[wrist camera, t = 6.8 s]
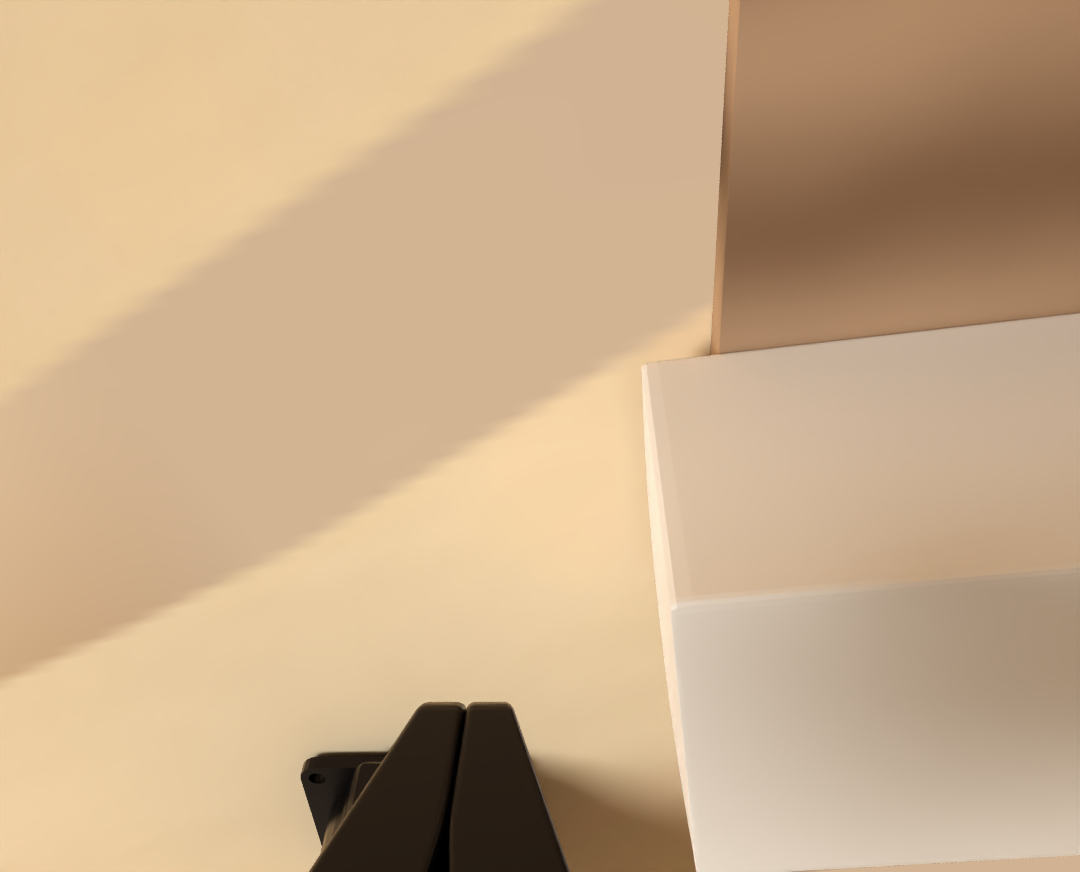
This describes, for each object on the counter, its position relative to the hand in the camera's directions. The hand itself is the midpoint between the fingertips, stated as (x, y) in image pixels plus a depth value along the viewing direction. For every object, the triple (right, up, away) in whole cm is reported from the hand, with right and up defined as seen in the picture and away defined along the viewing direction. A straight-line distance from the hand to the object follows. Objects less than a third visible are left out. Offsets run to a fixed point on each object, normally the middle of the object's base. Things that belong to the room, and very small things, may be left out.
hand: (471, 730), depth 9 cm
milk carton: (+3, -1, +10) cm, 10 cm away
